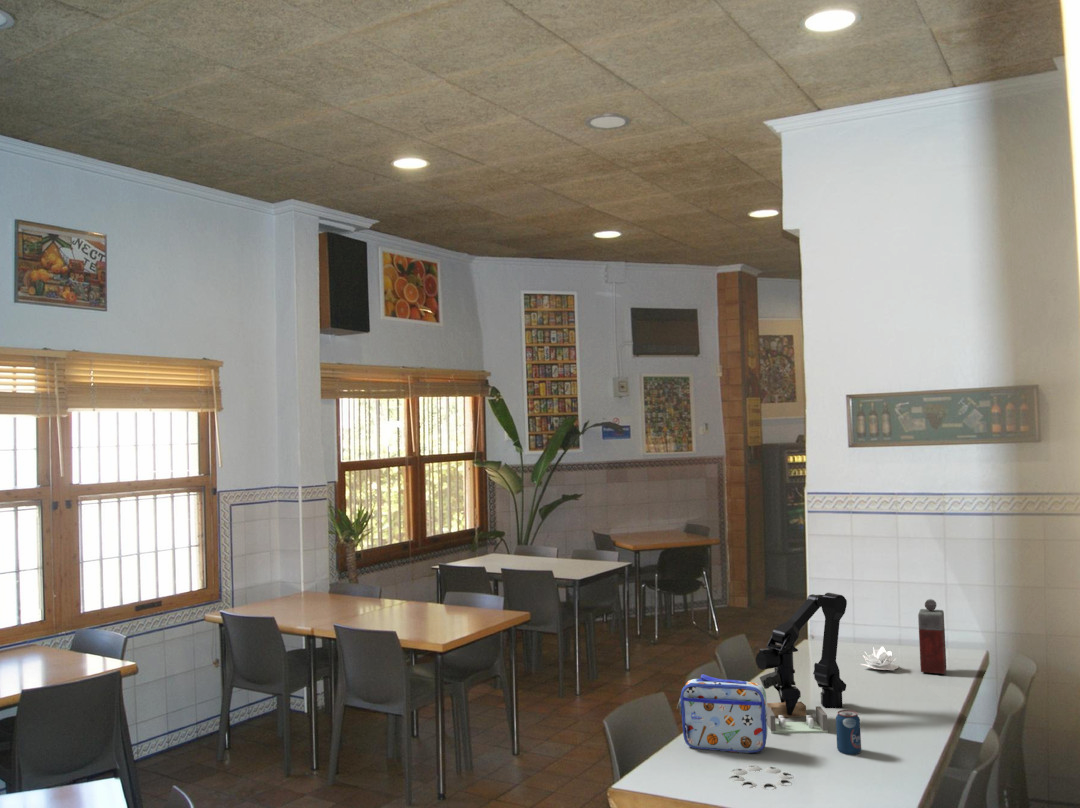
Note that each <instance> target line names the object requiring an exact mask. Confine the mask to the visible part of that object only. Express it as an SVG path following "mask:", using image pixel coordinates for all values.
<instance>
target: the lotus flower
mask: <svg viewBox="0 0 1080 808" xmlns="http://www.w3.org/2000/svg"><path fill="white" fill-rule="evenodd" d="M872 651H873V652H872V653H871V654H869V655H868V654H867V652H866V651H864V653H865V654H866V655H864V654H863V655H862V657H863V658H864V660H865V662H866V663H860V665H861V666H864V667H868V668H871V669H875V670H883V671H886V670H888V671H893V670H897V669H898V668H899V667H900V666H899V665H897V664H896V665H895V664H891V663H893V662H894V661H896V660H897V659H898V657H896V658H894V659H893V653H892V650H890V651H889V650H888V651H887V650H886V649H885V647H884V646H883V645H882V646H880V648H879V649H877V648H876V649H875V647H874V646H873V647H872ZM892 659H893V660H892Z"/></svg>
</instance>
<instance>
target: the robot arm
mask: <svg viewBox="0 0 1080 808" xmlns="http://www.w3.org/2000/svg"><path fill="white" fill-rule="evenodd" d="M847 605H848V601H847V599H846V597H845V596H844V595H842V594H838V593H834V592H833V593H832V592H825V593H824V594H809V595H808V596H807V599H806V600H805V601H804V602H803V604H801V606H800V607H799V608H798V609H797V610H796V611H795V612H794V614H793V615H791V617H790V618H789V619H788V620H787V621H785V622H783V623H780V624H779V625H778V626H777V627H775V628H774V629H773V630H772V633H771V636H770V638H769V640H768V642H767V644H766V646H765V648H760V649H758V650H759V652H757V654H756V657H755V663H756V666H757V668H758V669H759V670H761V671H763V670H769V669H773V670H774V671H772V672H769V673H766V674H763V675H762V676H760V677H759V680H760V683H761V686H762V687H763V688H764V690H768V689H769V688H771V687H773V688H774V689H775V690H776V691H777V692H778V696H779V699H780V703H781V702H785V704H786V709H787V714H788V716H791V715H792V713H793V710H794V708H795V706H796V703H797V702H799V700H800V699H801V696H802V695H801V693H802V692H801V690H800V689H799V688H798V687H797V686H796V681H795V674H796V670H795V669H794V653H796V652H799V649H798V648H797V647H795V643H797V640H799V637H800V632H801V630H802V628H803V627H805V625H806V624H807V623H808V622H809V621H810V619H811V618H812V617H813V616H814V614H815V613H816V612H817V611H818V610H819V609H820V608H821V611H822V613H823V616H824V626H823V639H822V649H821V658H820V660H819V661H818V662H815V663H814V665H813V669H814V670H813V674H812V675H813V676H814V680H815V682H816V683H817V686H818V688H821V691H820V704H821V705H822V707H824V709H845V707H844V705H843V692H845V691H846V690H847V684H846V683H845V682H844V681H843V679H841V675H840V668H839V665H838V662H837V655H838V654H837V653H838V644H839V643H838V642H839V634H840V633H839V632H840V623H841V620H842V617H844V615H845V614H846V610H847Z"/></svg>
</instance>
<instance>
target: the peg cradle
mask: <svg viewBox="0 0 1080 808" xmlns="http://www.w3.org/2000/svg"><path fill="white" fill-rule="evenodd" d="M805 717H806V718H805V719H806V721H786V717H784V716H783V715H779V717H778V721H776V718H775V715H774V713H773V712H772V710H771V708H770V707H767V719H768V726H767V730H768V731H769V732H770V734H819V733H820V734H821V733H822V734H824V733H825V734H827V733H829V731H828V729H829V728H828V714H827V713H826V712H825V710H824V709H823V708H822V706H815V721H814V717H812V715H811V714H806V716H805Z"/></svg>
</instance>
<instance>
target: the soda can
mask: <svg viewBox="0 0 1080 808" xmlns="http://www.w3.org/2000/svg"><path fill="white" fill-rule="evenodd" d="M835 730H836V748H837V751H838V752H839V753H841V754H842V755H849V756H850V755H851V756H853V755H854V756H855V755H860V753H861V751H862V738H861V737H862V736H861V735H862V734H861V733H862V732H861V720H860V716H859V714H858V712H857V711H854V710H851V709H841V710H838V711H837V714H836V717H835Z"/></svg>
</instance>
